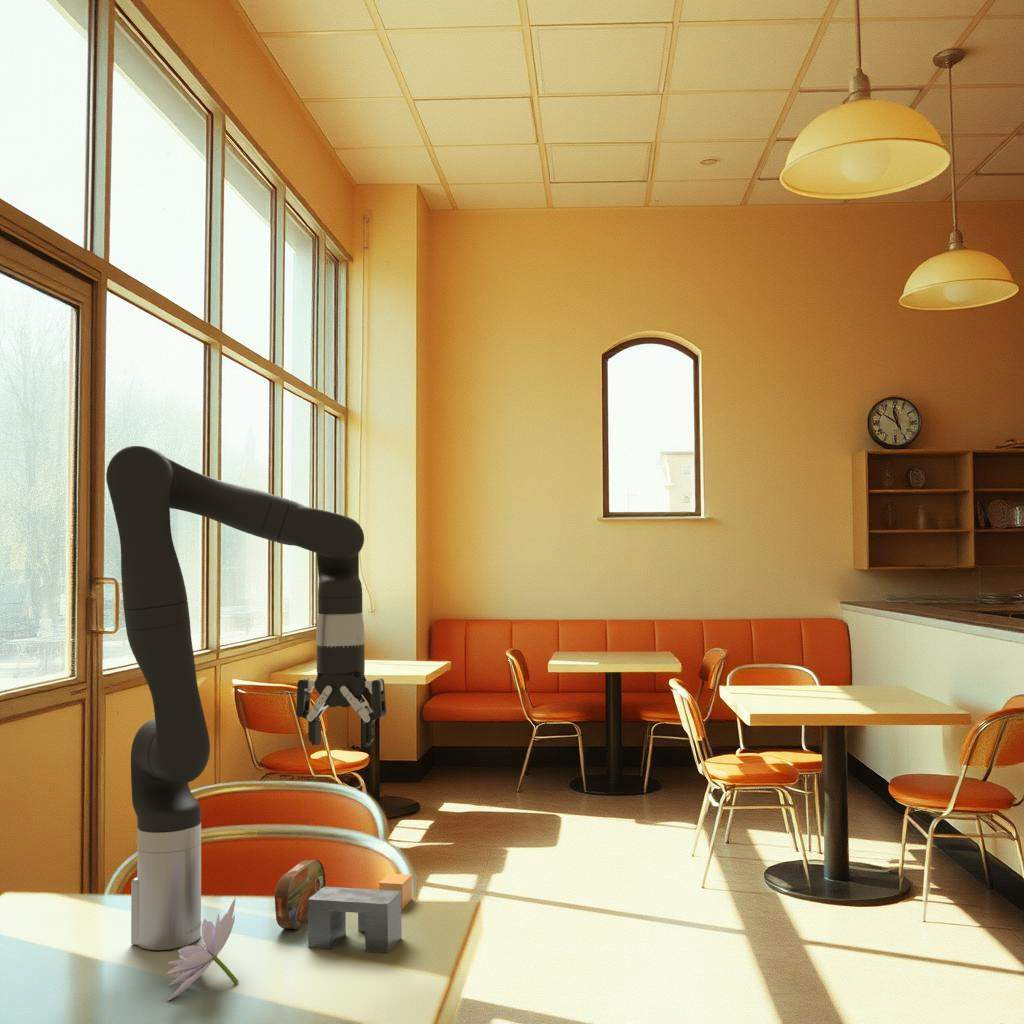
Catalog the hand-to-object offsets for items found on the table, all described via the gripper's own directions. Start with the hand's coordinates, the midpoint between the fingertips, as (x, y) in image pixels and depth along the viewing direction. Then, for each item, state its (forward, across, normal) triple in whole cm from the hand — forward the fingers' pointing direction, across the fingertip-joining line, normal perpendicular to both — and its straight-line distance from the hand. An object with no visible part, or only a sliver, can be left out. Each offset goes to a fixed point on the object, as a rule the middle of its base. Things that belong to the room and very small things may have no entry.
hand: (341, 745), depth 159 cm
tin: (+28, +8, -2) cm, 30 cm away
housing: (+28, -4, +6) cm, 29 cm away
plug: (+28, -5, -7) cm, 29 cm away
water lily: (+28, +11, +23) cm, 38 cm away
